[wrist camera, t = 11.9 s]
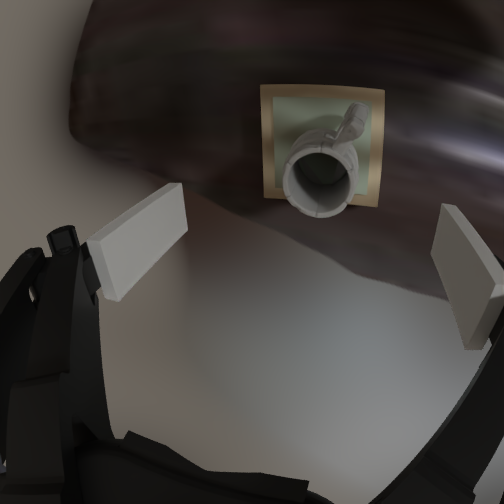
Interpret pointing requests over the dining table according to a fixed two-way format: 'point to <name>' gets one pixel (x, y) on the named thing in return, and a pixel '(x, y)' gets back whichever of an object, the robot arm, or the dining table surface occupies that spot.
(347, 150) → the mug
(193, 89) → the dining table surface
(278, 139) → the stand
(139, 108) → the dining table surface
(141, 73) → the dining table surface
